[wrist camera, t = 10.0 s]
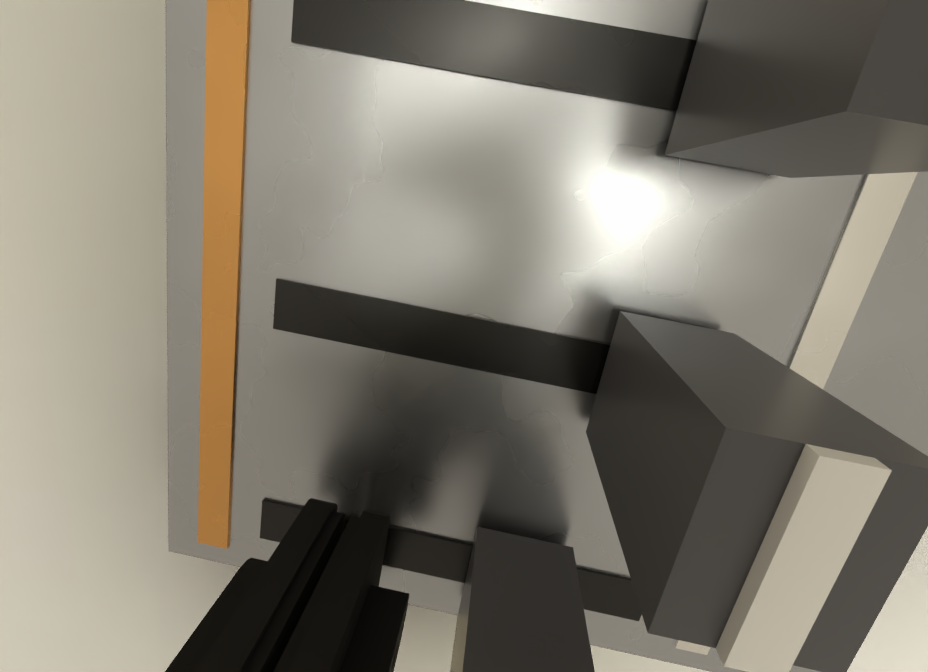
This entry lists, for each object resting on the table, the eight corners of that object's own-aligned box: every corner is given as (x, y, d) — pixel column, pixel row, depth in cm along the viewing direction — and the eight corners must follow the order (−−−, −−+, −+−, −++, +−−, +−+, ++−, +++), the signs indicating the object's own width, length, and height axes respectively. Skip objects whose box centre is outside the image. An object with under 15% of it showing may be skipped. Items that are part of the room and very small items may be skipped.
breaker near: (714, -20, 7) (1053, -374, 3) (854, 3, 7) (1446, -320, 3) (664, 154, 8) (864, 105, 3) (791, 177, 8) (1167, 159, 3)
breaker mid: (620, 310, 8) (735, 437, 4) (734, 333, 8) (977, 487, 4) (585, 431, 9) (653, 650, 5) (691, 453, 9) (856, 695, 5)
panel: (223, -73, 9) (162, -130, 7) (1048, 68, 8) (1172, 40, 7) (209, 508, 13) (166, 553, 11) (775, 631, 12) (814, 697, 11)
